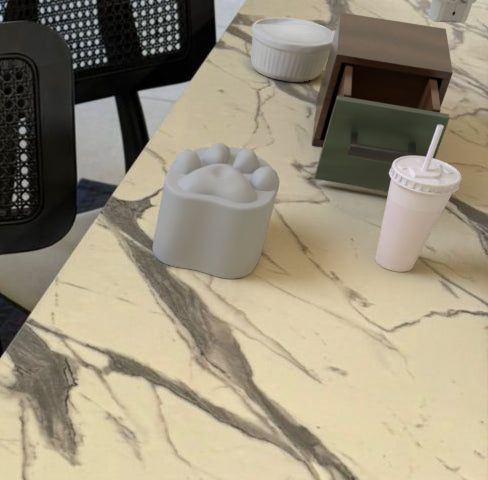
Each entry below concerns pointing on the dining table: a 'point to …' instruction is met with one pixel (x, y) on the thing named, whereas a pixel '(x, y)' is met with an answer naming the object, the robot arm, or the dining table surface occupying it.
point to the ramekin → (290, 48)
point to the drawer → (378, 125)
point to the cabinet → (381, 57)
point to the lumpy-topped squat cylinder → (215, 211)
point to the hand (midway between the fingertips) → (446, 20)
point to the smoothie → (414, 206)
